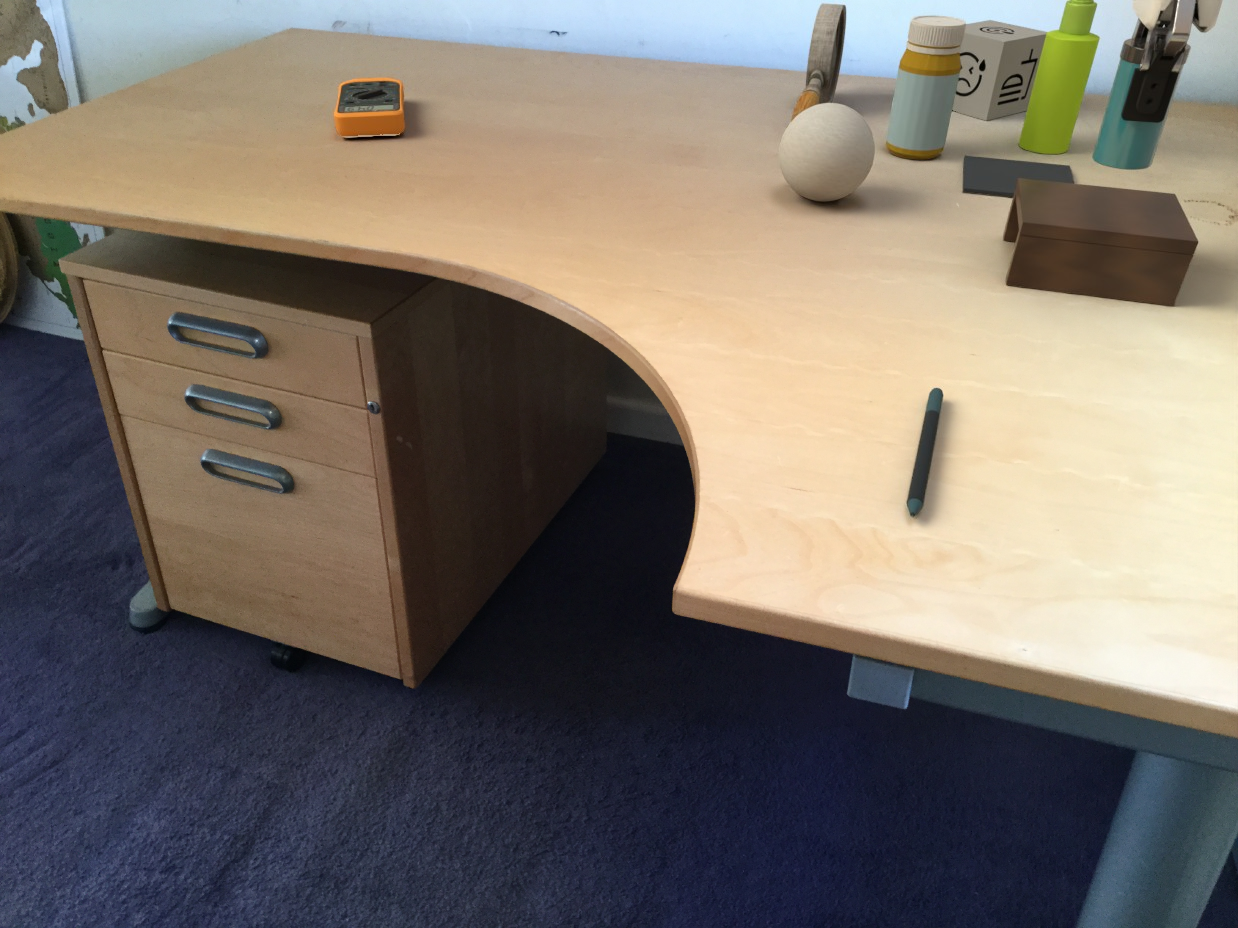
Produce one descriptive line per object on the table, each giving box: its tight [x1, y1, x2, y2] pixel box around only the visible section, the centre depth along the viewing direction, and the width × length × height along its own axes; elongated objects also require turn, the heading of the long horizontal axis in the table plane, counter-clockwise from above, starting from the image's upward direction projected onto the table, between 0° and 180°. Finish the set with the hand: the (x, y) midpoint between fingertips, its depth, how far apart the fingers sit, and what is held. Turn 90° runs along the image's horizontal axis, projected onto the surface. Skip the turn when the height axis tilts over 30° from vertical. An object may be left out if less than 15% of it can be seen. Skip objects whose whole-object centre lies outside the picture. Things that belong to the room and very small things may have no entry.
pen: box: [906, 387, 944, 519], centre depth 63 cm, size 1×16×1 cm, turn 159°
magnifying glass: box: [789, 3, 847, 124], centre depth 126 cm, size 13×3×25 cm
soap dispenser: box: [1018, 0, 1101, 155], centre depth 112 cm, size 6×7×20 cm
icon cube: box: [952, 19, 1048, 122], centre depth 130 cm, size 10×10×10 cm
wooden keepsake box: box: [1002, 178, 1200, 307], centre depth 87 cm, size 14×12×6 cm
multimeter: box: [333, 77, 406, 137], centre depth 125 cm, size 9×18×3 cm, turn 11°
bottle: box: [885, 14, 967, 161], centre depth 112 cm, size 7×7×15 cm
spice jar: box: [1091, 37, 1192, 171], centre depth 80 cm, size 5×5×10 cm
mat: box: [962, 154, 1075, 198], centre depth 108 cm, size 12×12×1 cm
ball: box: [778, 102, 876, 202], centre depth 100 cm, size 10×10×10 cm
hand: (1137, 109), depth 80 cm, fingers closed on spice jar, 4 cm apart
